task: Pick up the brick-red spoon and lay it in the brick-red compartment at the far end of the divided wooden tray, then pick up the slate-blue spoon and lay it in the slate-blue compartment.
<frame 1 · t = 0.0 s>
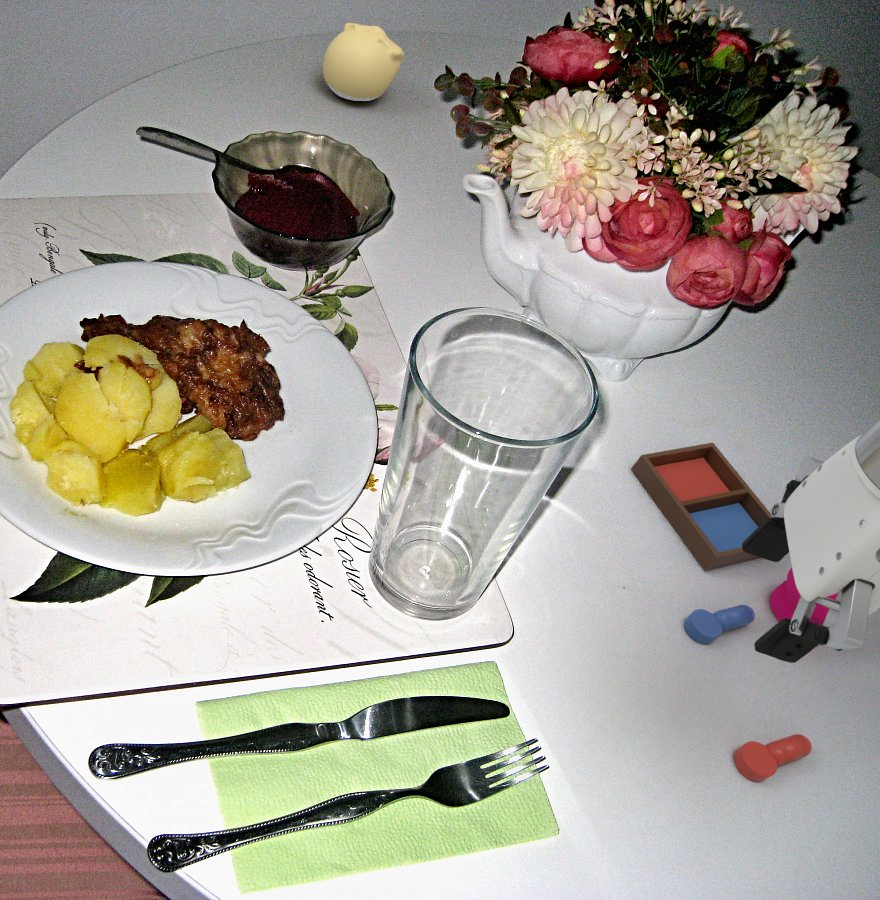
hand: (765, 601, 71), 17 cm above the table, tool pointing down, fingers open, 9 cm apart
red pad: (685, 486, 103), resting on divided wooden tray
sculpture: (352, 93, 150), on the table
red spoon: (766, 759, 81), on the table
blue pad: (721, 534, 99), resting on divided wooden tray
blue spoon: (713, 626, 90), on the table
divided wooden tray: (703, 510, 101), on the table
pepper mill: (796, 613, 94), on the table
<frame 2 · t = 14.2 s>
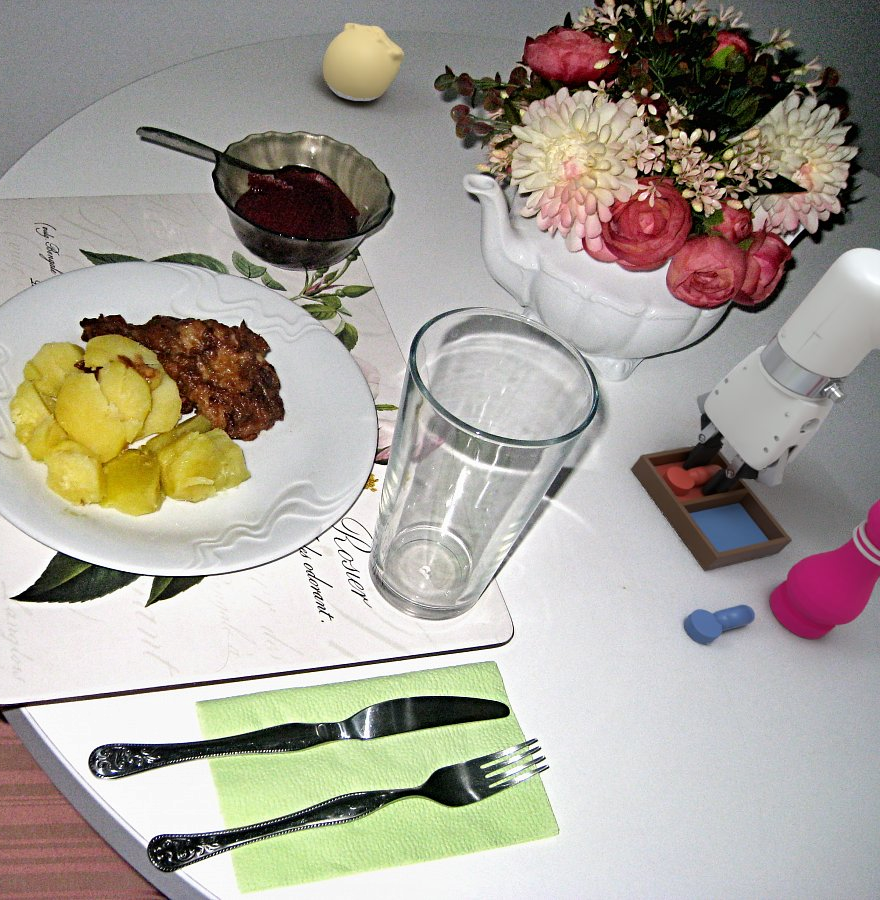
hand: (703, 478, 103), 1 cm above the table, tool pointing down, fingers open, 3 cm apart
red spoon: (687, 482, 102), point 1 cm above the table, touching red pad
everything else where it was.
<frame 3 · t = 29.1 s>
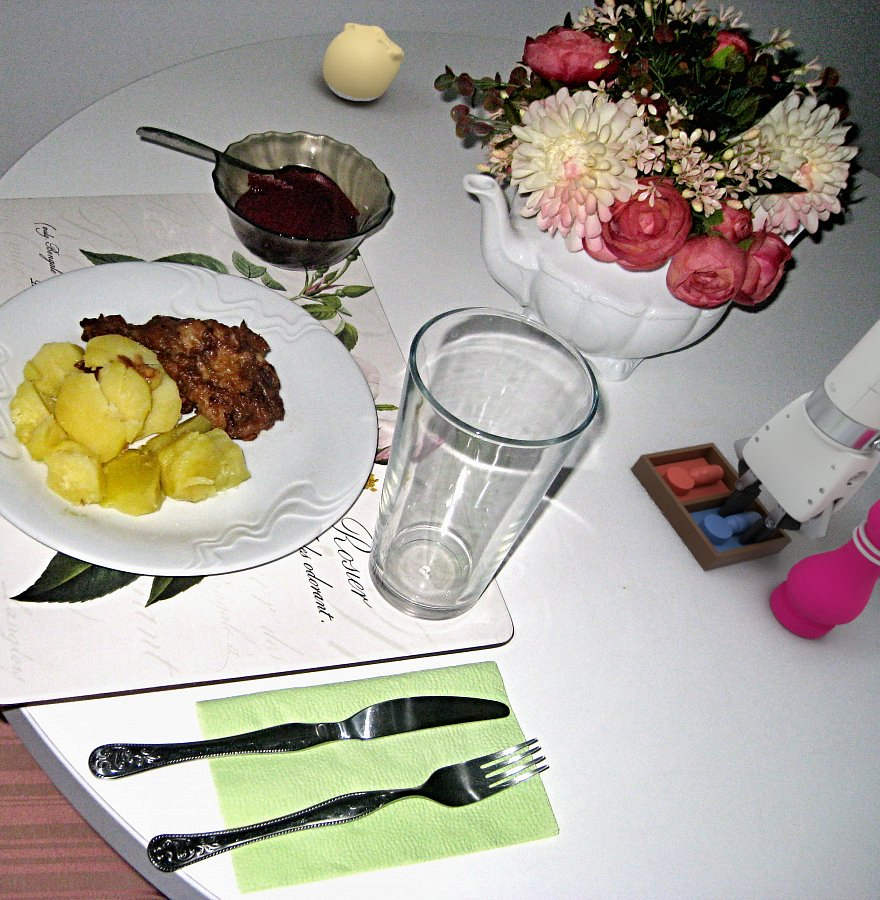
hand: (740, 525, 99), 1 cm above the table, tool pointing down, fingers open, 3 cm apart
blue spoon: (724, 530, 98), point 1 cm above the table, touching blue pad
everything else where it was.
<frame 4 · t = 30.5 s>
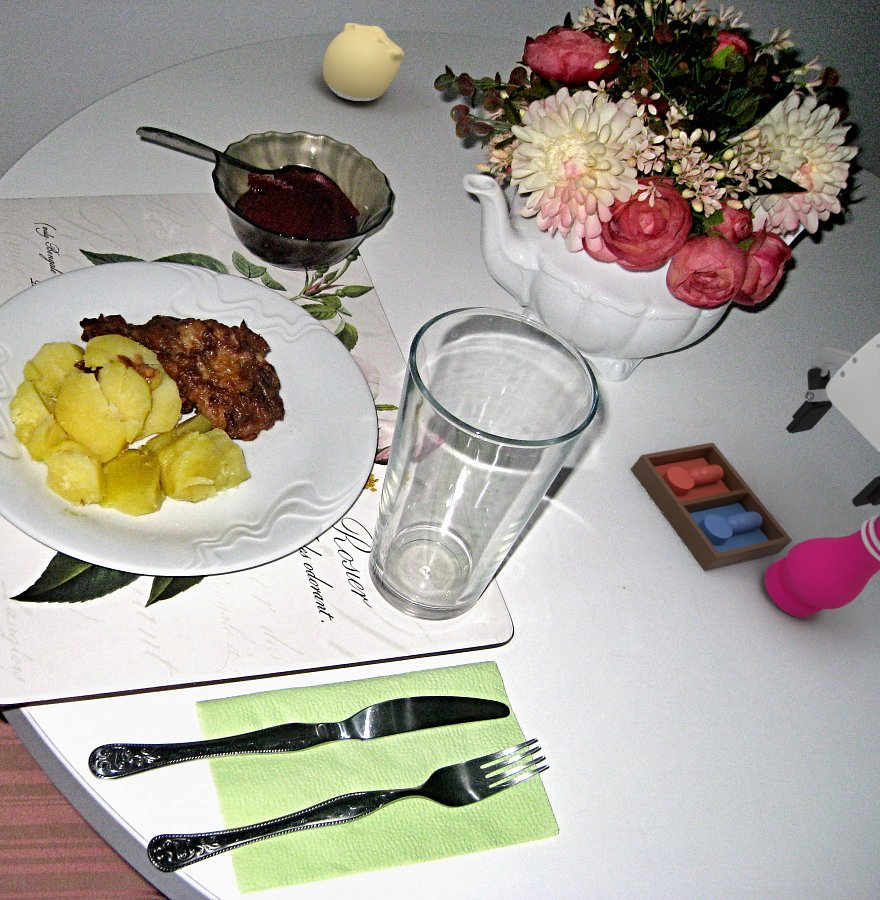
hand: (829, 464, 90), 13 cm above the table, tool pointing down, fingers open, 9 cm apart
pepper mill: (788, 590, 95), on the table
everything else where it was.
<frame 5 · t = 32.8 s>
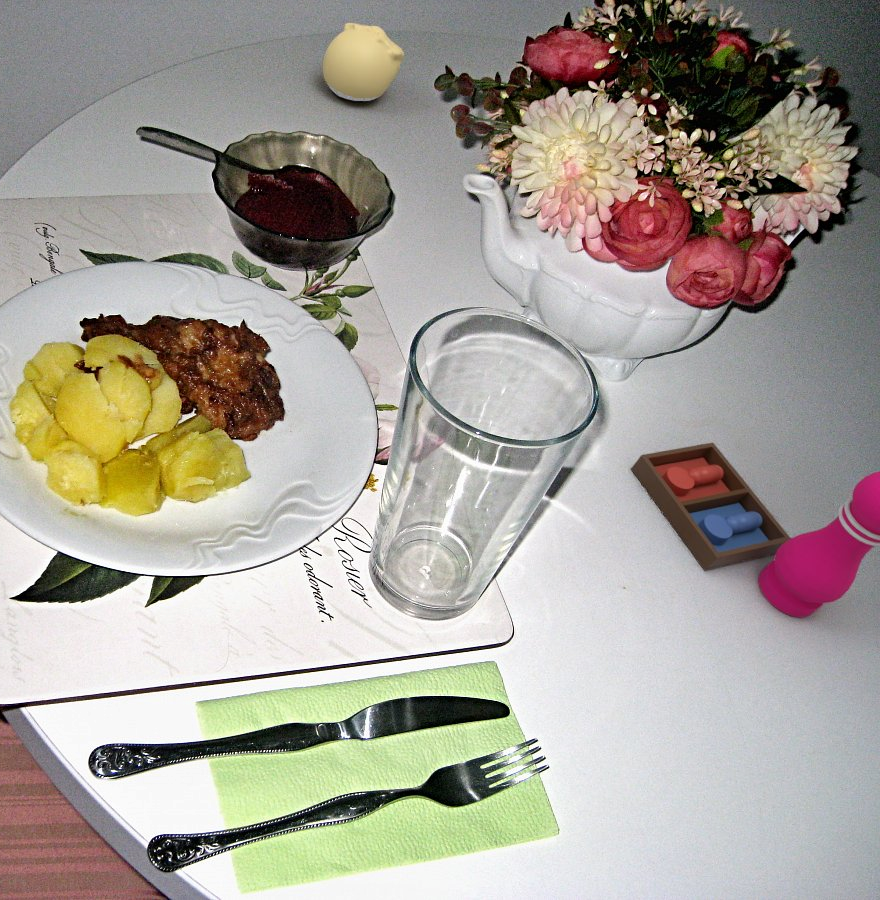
at the end: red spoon 0.2 cm off-centre on the red pad, point 0.7 cm above the red pad's base; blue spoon 0.0 cm off-centre on the blue pad, point 0.7 cm above the blue pad's base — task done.
